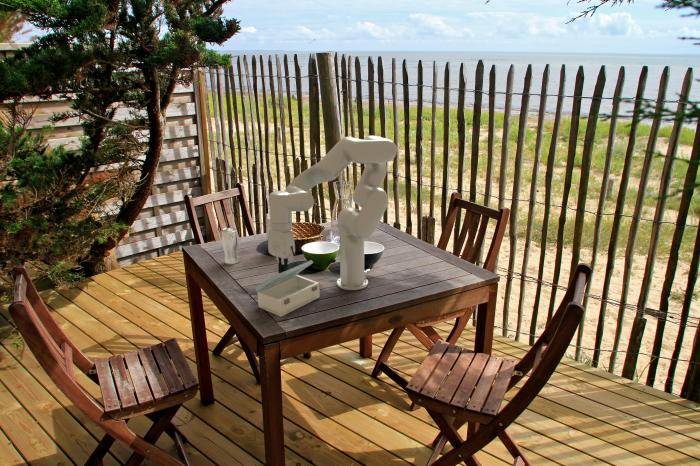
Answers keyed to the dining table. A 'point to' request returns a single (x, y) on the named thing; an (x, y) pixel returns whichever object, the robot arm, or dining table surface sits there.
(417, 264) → the dining table surface
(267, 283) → the lid
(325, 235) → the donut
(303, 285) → the box
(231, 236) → the beer glass
